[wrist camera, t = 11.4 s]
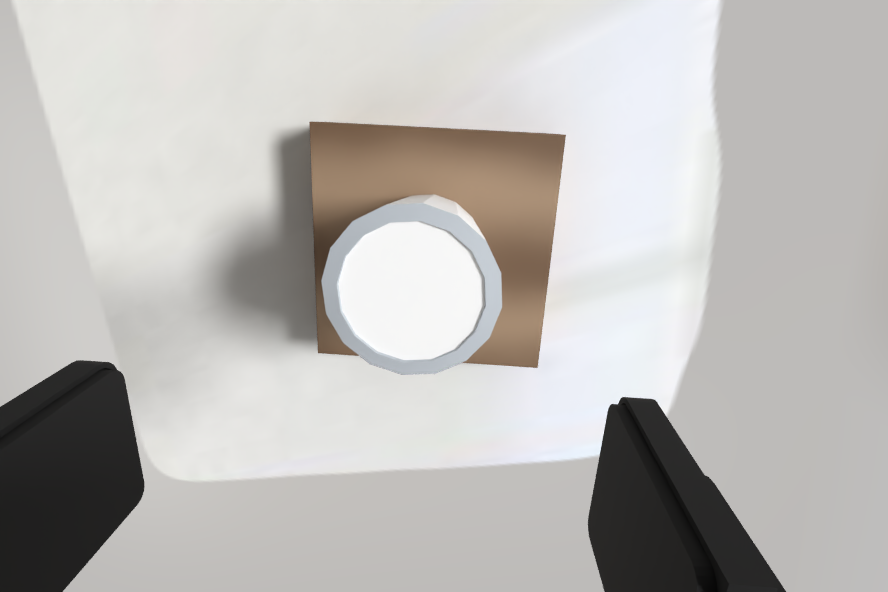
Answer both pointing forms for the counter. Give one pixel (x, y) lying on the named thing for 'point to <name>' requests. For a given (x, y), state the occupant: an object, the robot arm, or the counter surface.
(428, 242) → the white and grey cylinder
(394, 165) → the walnut base
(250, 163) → the counter surface
